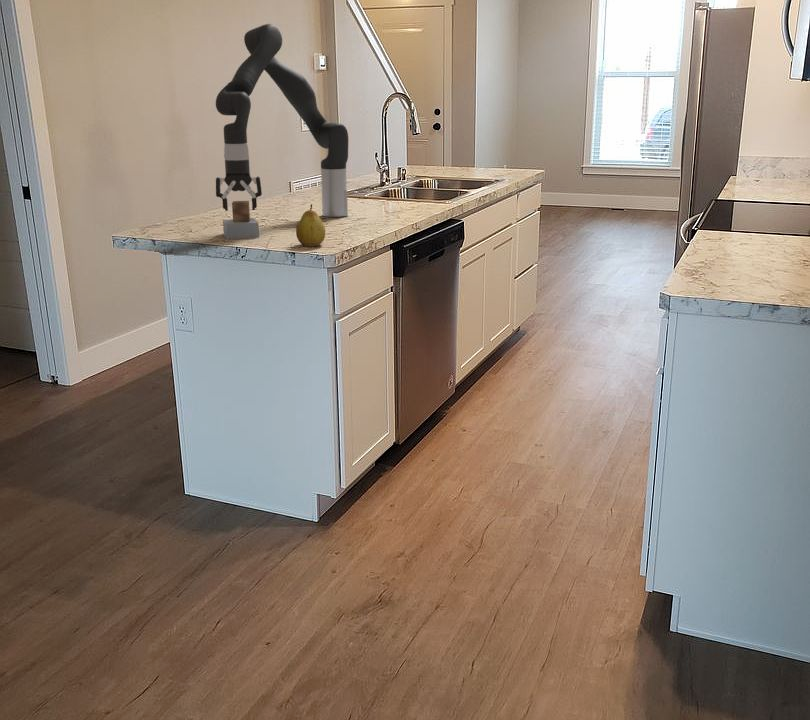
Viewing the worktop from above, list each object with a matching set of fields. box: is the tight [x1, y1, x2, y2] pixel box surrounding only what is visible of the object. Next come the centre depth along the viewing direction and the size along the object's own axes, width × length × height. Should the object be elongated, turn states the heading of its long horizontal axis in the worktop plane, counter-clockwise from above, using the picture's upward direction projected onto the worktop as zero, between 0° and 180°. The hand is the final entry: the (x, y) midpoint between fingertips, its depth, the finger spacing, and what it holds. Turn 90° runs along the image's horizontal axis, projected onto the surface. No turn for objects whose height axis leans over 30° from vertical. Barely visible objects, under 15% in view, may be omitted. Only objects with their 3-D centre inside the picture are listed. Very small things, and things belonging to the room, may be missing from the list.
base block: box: [222, 217, 260, 240], centre depth 270 cm, size 10×10×5 cm
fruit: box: [295, 203, 327, 247], centre depth 252 cm, size 9×9×12 cm
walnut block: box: [231, 200, 251, 222], centre depth 269 cm, size 5×5×6 cm
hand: (240, 210), depth 268 cm, fingers open, 8 cm apart
